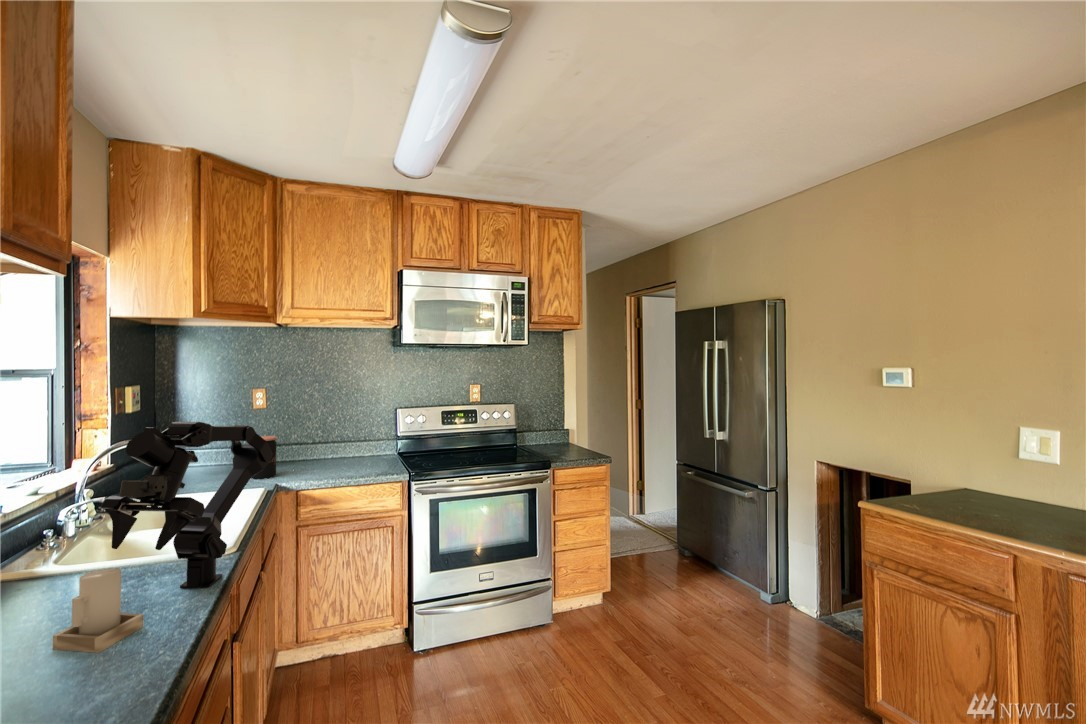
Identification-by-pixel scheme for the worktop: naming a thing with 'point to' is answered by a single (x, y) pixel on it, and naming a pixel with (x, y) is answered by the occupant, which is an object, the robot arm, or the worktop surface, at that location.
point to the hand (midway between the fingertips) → (135, 549)
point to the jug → (98, 602)
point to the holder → (96, 644)
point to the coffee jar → (271, 467)
